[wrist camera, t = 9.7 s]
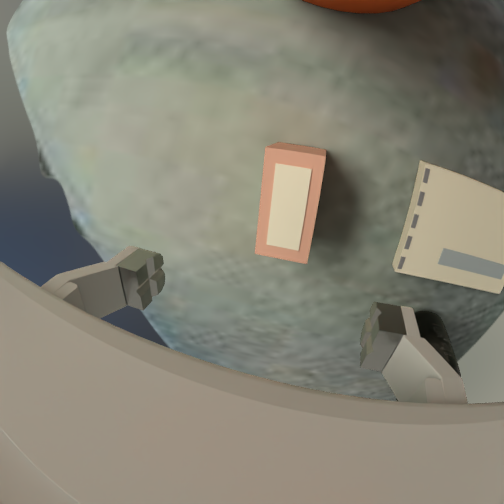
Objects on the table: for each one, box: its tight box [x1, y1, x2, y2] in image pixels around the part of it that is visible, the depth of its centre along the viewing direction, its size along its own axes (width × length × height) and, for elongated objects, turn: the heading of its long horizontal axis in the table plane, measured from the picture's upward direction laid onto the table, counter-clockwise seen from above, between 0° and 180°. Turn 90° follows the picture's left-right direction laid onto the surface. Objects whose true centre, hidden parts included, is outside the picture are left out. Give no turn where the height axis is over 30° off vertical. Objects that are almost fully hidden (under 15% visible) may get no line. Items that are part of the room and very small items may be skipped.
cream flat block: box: [392, 160, 504, 294], centre depth 19 cm, size 14×10×2 cm
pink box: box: [255, 142, 326, 264], centre depth 21 cm, size 4×8×5 cm, turn 175°
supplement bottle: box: [396, 311, 461, 401], centre depth 21 cm, size 7×7×12 cm
